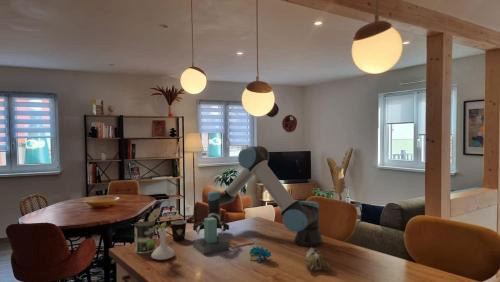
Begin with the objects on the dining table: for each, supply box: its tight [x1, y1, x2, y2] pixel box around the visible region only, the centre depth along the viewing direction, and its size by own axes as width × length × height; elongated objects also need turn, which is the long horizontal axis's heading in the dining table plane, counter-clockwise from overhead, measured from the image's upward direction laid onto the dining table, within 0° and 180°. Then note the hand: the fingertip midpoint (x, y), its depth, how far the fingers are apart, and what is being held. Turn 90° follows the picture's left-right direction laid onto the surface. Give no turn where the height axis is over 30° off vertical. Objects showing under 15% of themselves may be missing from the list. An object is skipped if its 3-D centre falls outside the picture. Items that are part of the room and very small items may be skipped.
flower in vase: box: [147, 207, 176, 261], centre depth 162 cm, size 13×11×25 cm
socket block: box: [192, 235, 230, 256], centre depth 175 cm, size 14×14×4 cm
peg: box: [203, 217, 218, 244], centre depth 175 cm, size 5×5×16 cm
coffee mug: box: [164, 219, 187, 242], centre depth 191 cm, size 12×9×10 cm
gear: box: [248, 246, 272, 264], centre depth 157 cm, size 11×6×10 cm
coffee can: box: [133, 220, 156, 254], centre depth 173 cm, size 10×10×14 cm
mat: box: [224, 235, 254, 249], centre depth 185 cm, size 13×13×1 cm
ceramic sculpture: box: [305, 247, 332, 272], centre depth 148 cm, size 11×9×15 cm
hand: (209, 231), depth 171 cm, fingers open, 12 cm apart
